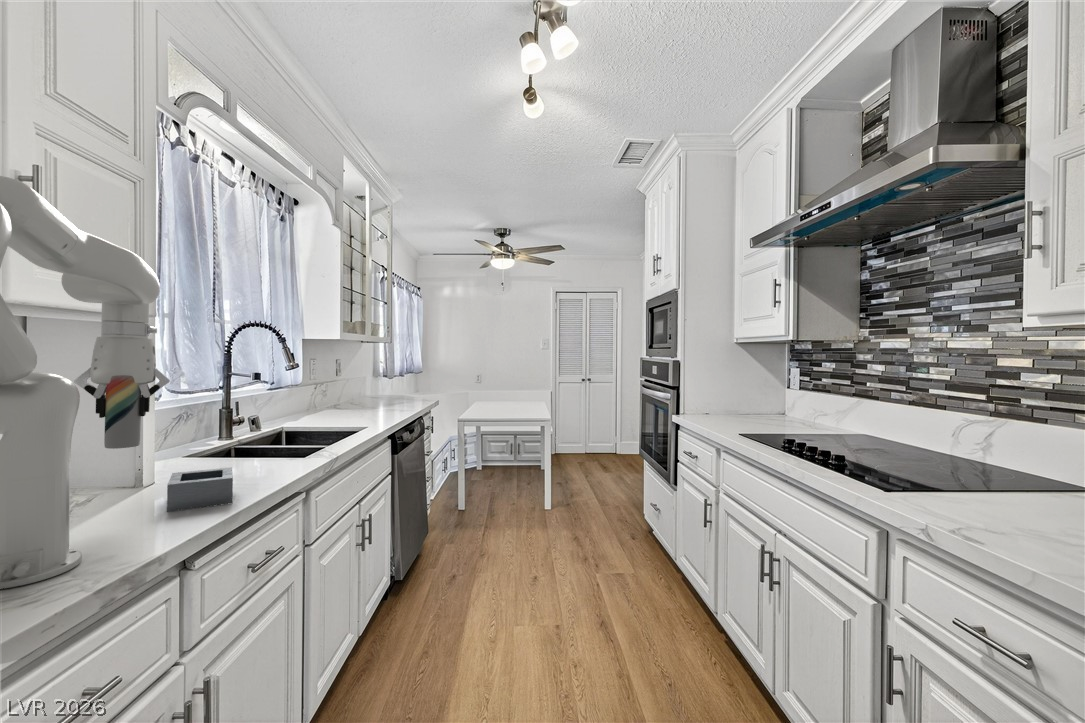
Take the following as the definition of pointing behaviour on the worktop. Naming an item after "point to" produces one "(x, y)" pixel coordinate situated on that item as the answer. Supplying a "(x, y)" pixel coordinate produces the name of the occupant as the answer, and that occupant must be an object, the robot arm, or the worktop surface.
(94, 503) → the worktop surface
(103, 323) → the robot arm
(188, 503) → the socket block
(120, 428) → the lotion bottle
